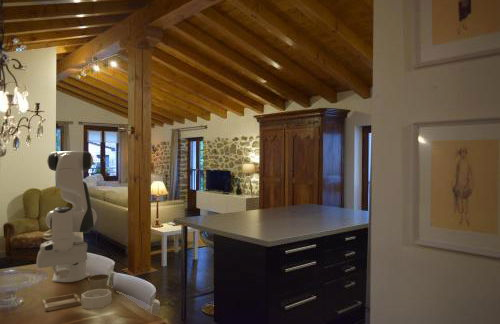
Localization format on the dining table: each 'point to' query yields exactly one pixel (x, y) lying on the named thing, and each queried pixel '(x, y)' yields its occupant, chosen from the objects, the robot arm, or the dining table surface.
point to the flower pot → (98, 281)
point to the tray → (61, 302)
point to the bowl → (96, 298)
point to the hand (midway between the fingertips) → (62, 274)
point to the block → (62, 273)
